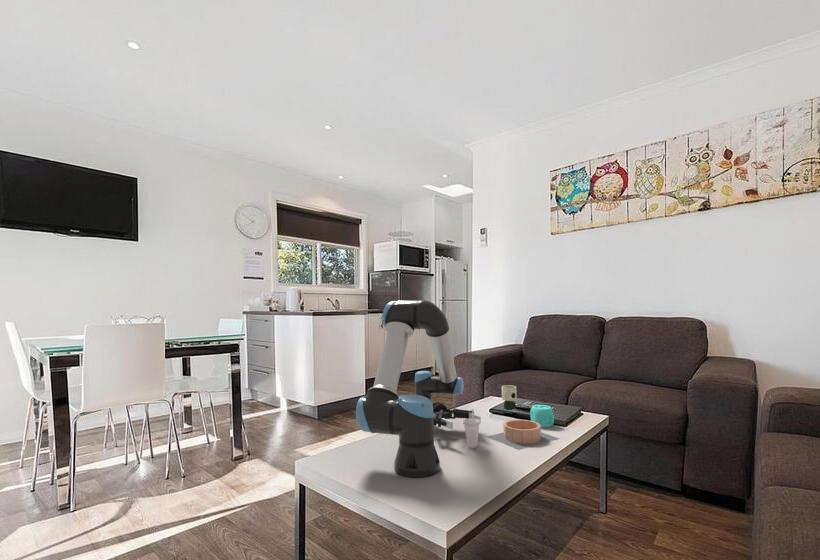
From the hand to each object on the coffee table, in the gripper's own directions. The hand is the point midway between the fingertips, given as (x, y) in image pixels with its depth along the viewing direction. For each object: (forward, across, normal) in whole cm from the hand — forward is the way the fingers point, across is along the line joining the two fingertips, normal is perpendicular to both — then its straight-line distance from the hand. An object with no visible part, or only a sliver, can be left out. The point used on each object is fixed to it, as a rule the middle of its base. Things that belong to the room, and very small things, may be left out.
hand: (466, 422), depth 161 cm
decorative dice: (0, -41, -8) cm, 42 cm away
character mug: (-22, -44, -8) cm, 49 cm away
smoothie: (+4, +1, -8) cm, 9 cm away
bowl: (+8, -21, -7) cm, 24 cm away
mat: (+8, -21, -8) cm, 24 cm away
